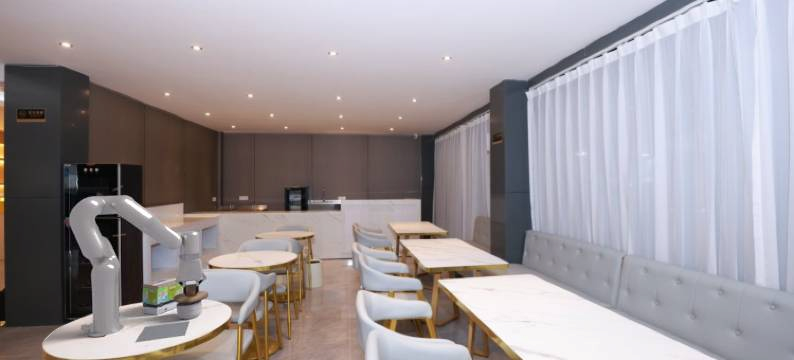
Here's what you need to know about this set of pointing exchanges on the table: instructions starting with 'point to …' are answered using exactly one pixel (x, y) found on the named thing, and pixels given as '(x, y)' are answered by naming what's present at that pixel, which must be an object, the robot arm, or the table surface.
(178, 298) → the walnut lid
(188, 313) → the teacup
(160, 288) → the tea box
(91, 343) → the table surface
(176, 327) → the slate mat
